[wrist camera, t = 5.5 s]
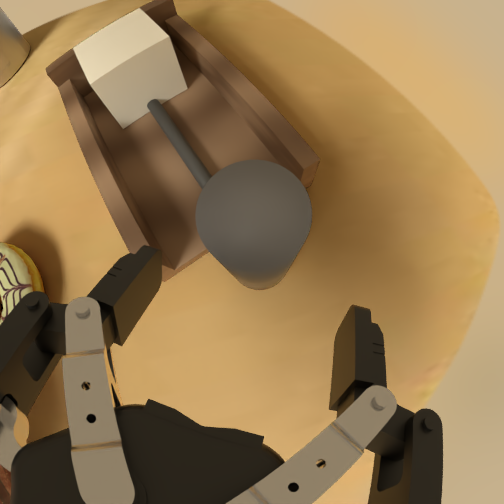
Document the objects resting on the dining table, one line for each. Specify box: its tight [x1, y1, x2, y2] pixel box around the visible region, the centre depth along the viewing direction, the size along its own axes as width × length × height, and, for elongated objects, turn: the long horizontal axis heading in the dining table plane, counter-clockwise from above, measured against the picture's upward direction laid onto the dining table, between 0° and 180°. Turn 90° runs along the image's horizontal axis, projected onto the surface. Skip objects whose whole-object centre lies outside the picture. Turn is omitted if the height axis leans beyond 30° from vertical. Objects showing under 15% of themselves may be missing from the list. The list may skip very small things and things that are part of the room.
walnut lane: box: [46, 0, 320, 282], centre depth 19 cm, size 20×12×6 cm, turn 34°
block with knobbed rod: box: [73, 8, 312, 290], centre depth 16 cm, size 22×6×10 cm, turn 34°
